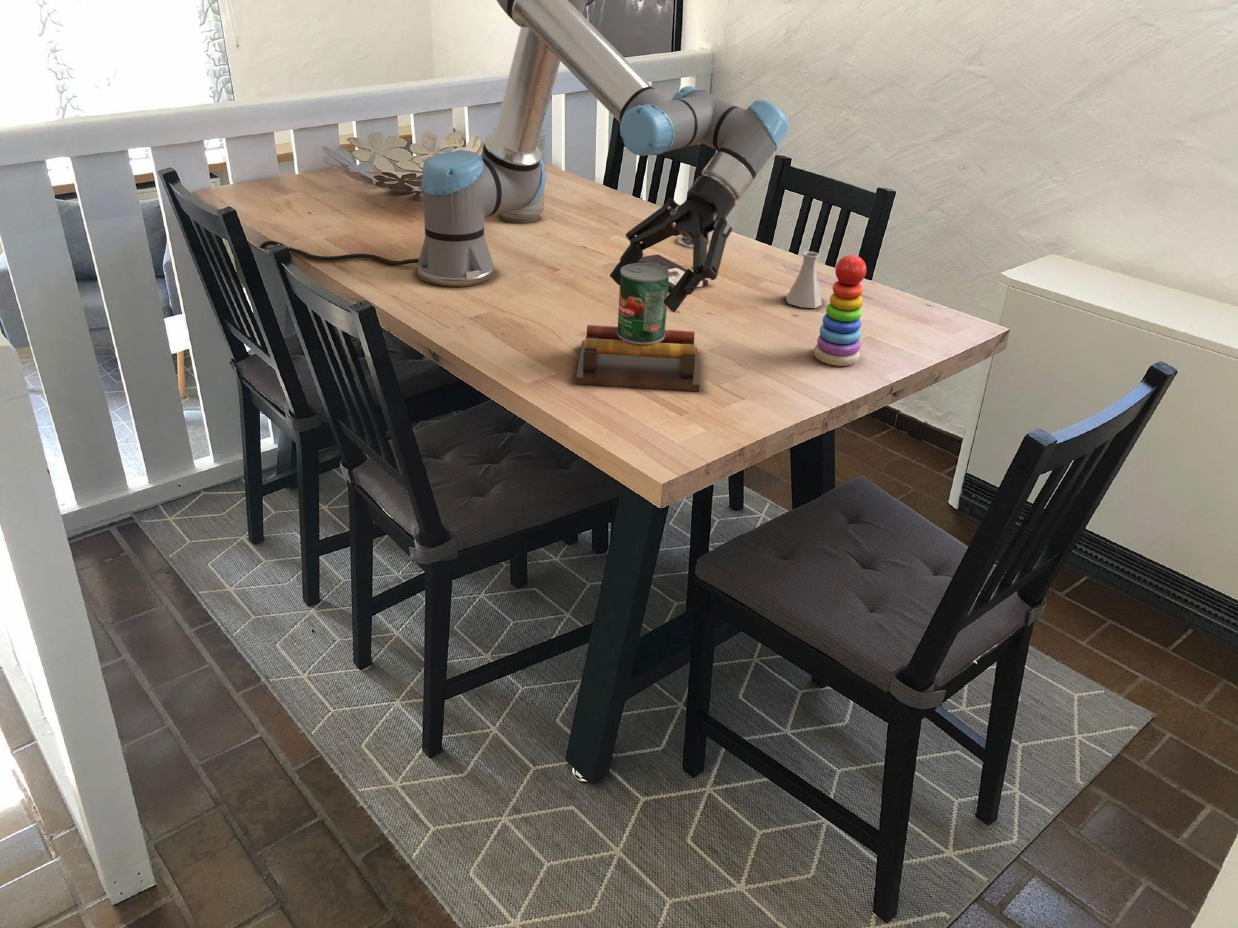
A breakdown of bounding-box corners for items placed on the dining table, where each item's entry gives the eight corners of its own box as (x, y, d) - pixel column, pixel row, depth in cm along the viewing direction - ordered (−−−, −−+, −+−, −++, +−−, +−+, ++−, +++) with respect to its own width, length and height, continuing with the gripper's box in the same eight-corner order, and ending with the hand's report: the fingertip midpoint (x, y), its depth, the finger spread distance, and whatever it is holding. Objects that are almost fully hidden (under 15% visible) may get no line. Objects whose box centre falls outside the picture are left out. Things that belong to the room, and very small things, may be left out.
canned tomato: (673, 333, 164) (678, 270, 158) (649, 349, 158) (653, 283, 152) (632, 322, 167) (636, 259, 161) (607, 336, 161) (610, 272, 156)
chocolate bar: (658, 254, 214) (708, 280, 201) (657, 258, 214) (707, 285, 201) (623, 260, 209) (672, 287, 197) (623, 264, 210) (671, 291, 197)
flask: (824, 299, 198) (832, 251, 193) (818, 311, 192) (827, 262, 187) (789, 293, 200) (796, 245, 195) (782, 305, 194) (789, 256, 189)
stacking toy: (808, 348, 176) (824, 247, 167) (851, 349, 177) (870, 248, 167) (819, 367, 169) (837, 262, 160) (864, 368, 170) (884, 263, 161)
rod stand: (575, 384, 159) (576, 349, 156) (582, 346, 172) (583, 314, 169) (699, 391, 159) (702, 357, 156) (696, 353, 172) (699, 321, 169)
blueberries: (706, 238, 229) (707, 230, 228) (705, 249, 222) (706, 240, 221) (677, 236, 229) (678, 228, 228) (676, 246, 223) (676, 238, 222)
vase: (524, 228, 228) (524, 125, 217) (485, 218, 234) (483, 117, 222) (553, 217, 237) (555, 118, 225) (514, 207, 242) (514, 110, 231)
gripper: (783, 223, 154) (704, 331, 153) (678, 184, 170) (605, 282, 170) (764, 193, 148) (681, 306, 147) (657, 156, 165) (582, 258, 164)
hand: (641, 294), depth 158 cm, fingers open, 13 cm apart
